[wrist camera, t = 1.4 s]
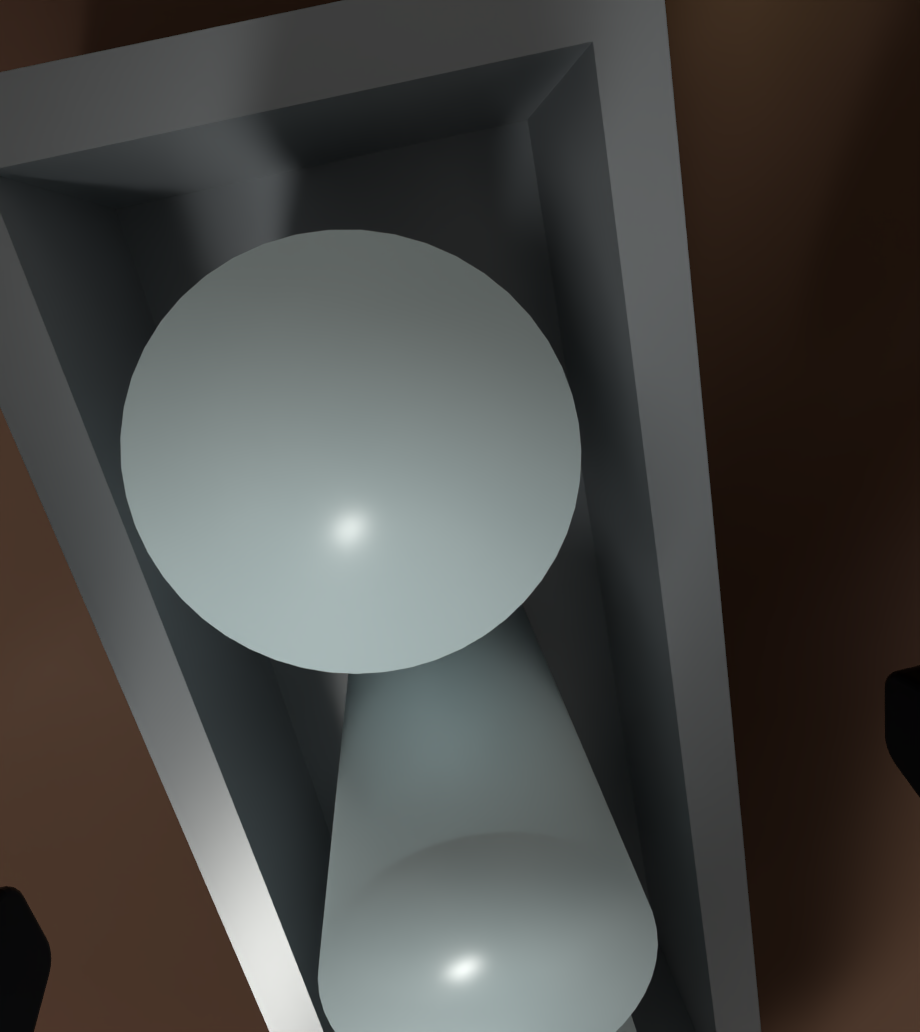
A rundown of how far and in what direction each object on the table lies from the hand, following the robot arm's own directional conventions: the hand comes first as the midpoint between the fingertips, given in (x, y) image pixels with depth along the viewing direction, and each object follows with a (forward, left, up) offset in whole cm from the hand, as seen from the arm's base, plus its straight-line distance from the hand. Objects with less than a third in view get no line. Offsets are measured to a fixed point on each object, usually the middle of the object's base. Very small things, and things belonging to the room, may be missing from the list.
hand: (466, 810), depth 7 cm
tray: (0, 0, -4) cm, 4 cm away
